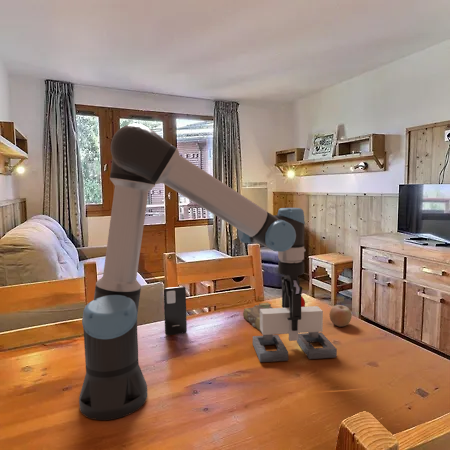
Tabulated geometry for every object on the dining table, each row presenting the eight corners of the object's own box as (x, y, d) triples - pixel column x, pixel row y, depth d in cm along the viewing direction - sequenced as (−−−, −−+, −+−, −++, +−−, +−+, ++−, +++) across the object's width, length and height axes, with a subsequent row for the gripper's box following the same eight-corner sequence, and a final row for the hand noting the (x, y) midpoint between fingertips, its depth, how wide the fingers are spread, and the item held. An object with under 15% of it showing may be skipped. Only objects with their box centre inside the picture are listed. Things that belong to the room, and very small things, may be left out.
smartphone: (186, 332, 120) (185, 286, 119) (187, 333, 119) (185, 286, 118) (164, 335, 118) (163, 288, 117) (165, 336, 117) (163, 288, 116)
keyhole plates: (260, 362, 99) (260, 353, 99) (252, 344, 110) (252, 336, 110) (336, 357, 101) (336, 348, 101) (321, 339, 113) (321, 332, 112)
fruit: (327, 320, 129) (328, 299, 128) (349, 321, 128) (349, 299, 127) (331, 329, 121) (331, 306, 120) (353, 329, 120) (354, 306, 119)
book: (287, 328, 123) (287, 314, 123) (259, 333, 119) (259, 319, 119) (267, 315, 137) (267, 302, 136) (241, 319, 133) (241, 306, 132)
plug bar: (262, 342, 104) (262, 314, 103) (259, 336, 109) (259, 308, 108) (322, 338, 106) (322, 311, 105) (317, 332, 110) (317, 306, 109)
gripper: (313, 266, 97) (313, 348, 99) (294, 254, 114) (294, 324, 116) (286, 267, 96) (286, 350, 98) (271, 255, 113) (272, 326, 116)
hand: (291, 336), depth 107 cm, fingers closed on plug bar, 4 cm apart
